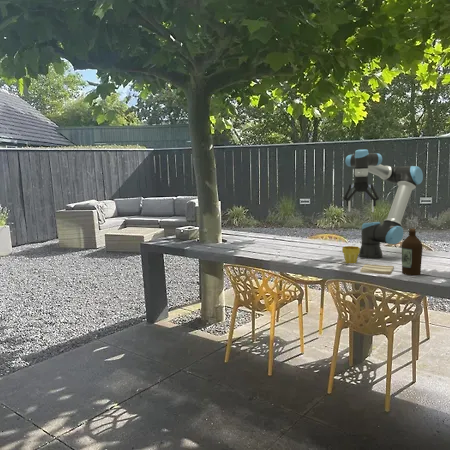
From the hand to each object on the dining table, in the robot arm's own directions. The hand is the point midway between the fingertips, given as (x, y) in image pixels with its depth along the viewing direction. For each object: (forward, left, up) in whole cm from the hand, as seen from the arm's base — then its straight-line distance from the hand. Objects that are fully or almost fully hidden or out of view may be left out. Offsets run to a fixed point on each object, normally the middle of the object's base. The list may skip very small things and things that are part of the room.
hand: (360, 211), depth 256 cm
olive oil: (+12, +29, -33) cm, 46 cm away
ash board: (+10, +11, -33) cm, 36 cm away
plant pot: (-6, -7, -33) cm, 34 cm away
